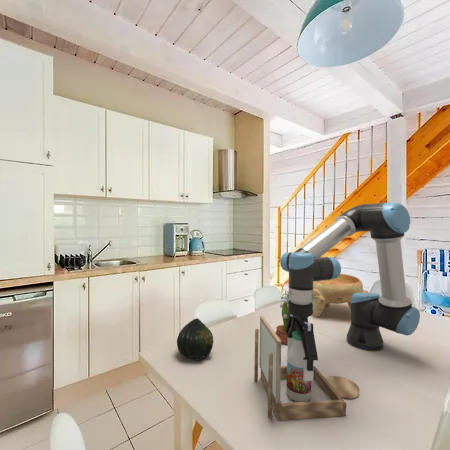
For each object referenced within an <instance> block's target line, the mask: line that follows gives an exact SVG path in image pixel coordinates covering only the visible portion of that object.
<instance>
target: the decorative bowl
mask: <svg viewBox="0 0 450 450" xmlns="http://www.w3.org/2000/svg"><path fill="white" fill-rule="evenodd" d="M363 288H364V286H363V282H362V280H361V279H360V278H359V277H357V276H355V275H354V276H353V275H350V274H345V273H340V275H339V276H338V277H337V278H334V279H331V280H321V281H313V301H312V304H313V314H312V315H313V316H314V317H315V318H318V317H320V316H321V314H322V312H323V310H324V309H325V308H329V307H330V306H331V304H334V305H336V304H338V305H341V304H347V305H348V307H349V309H350V310H351V299H352V295H353V294H355V293H370V292H369V291H368V290H366V289H363Z"/></svg>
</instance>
